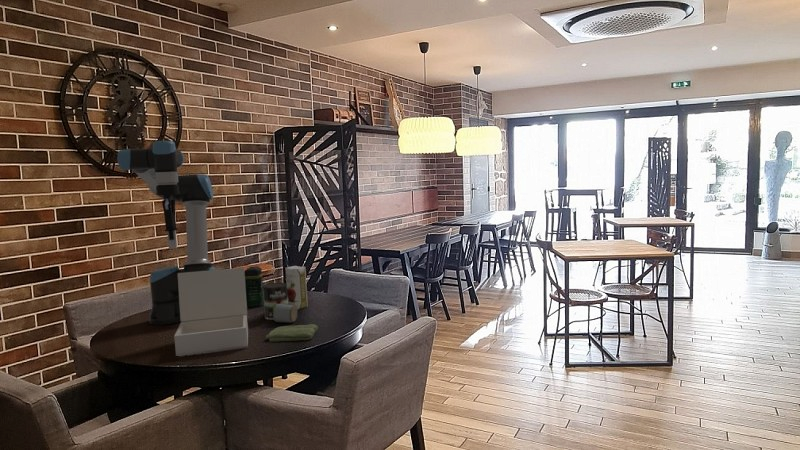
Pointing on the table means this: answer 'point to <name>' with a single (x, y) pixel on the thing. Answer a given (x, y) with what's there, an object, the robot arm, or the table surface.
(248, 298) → the coffee jar
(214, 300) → the lid
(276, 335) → the washcloth
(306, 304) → the juice carton
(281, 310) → the ceramic mug
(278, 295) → the coffee can
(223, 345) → the box
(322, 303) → the table surface
